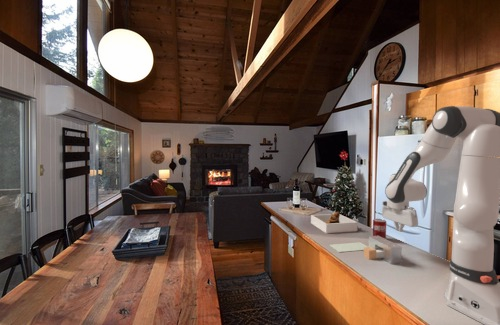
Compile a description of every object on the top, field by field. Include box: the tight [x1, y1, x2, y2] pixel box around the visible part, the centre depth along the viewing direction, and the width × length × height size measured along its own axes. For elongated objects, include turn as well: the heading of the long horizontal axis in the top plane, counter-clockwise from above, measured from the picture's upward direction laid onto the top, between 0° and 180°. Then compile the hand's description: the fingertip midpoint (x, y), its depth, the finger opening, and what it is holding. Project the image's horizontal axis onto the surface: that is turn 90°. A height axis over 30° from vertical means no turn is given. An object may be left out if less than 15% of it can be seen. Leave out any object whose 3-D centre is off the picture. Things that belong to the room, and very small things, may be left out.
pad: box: [329, 241, 369, 253], centre depth 140 cm, size 10×20×1 cm, turn 101°
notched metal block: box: [368, 235, 403, 265], centre depth 128 cm, size 16×6×8 cm, turn 11°
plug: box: [363, 246, 383, 260], centre depth 128 cm, size 4×17×4 cm, turn 101°
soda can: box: [372, 218, 387, 239], centre depth 152 cm, size 7×7×12 cm
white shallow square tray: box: [310, 213, 359, 234], centre depth 177 cm, size 23×23×6 cm
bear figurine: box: [325, 211, 340, 224], centre depth 173 cm, size 14×15×12 cm
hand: (399, 230), depth 128 cm, fingers closed
